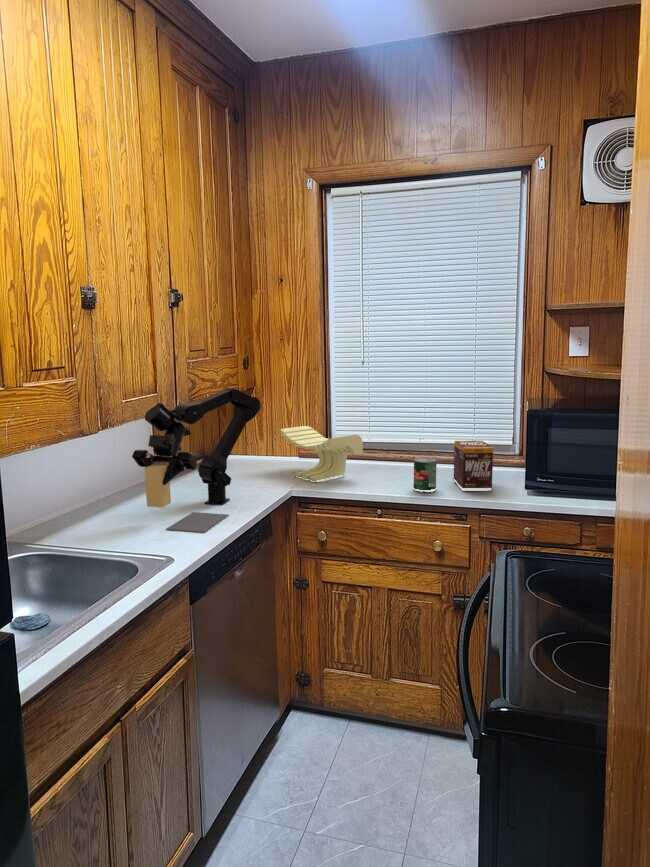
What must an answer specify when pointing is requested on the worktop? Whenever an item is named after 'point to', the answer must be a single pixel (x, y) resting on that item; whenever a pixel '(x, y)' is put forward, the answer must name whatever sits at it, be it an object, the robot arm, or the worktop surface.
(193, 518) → the slate mat
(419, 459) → the canned tomato
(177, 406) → the robot arm
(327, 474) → the slatted curved stool
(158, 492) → the ochre block
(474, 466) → the supplement box
